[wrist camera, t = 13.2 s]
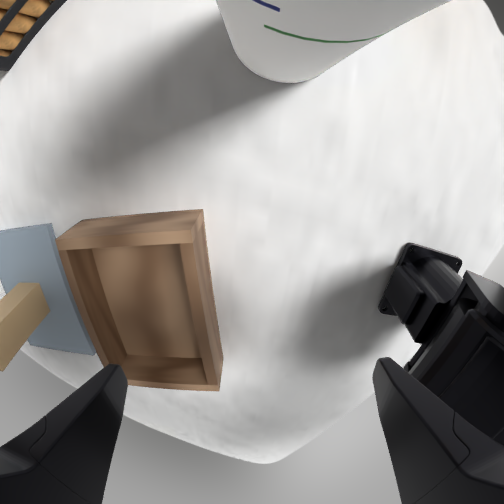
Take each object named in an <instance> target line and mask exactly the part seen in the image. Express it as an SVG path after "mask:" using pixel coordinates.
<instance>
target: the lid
mask: <svg viewBox="0 0 504 504" xmlns="http://www.w3.org/2000/svg"><path fill="white" fill-rule="evenodd" d="M0 280H1V283H2V285H3V288H4V290H5V293H6V295H5V296H4V297H3V298H2V299H1V300H0V371H4V370H5V368H6V367H7V365H8V364H9V362H10V361H11V360H12V359H13V357H14V356H15V354H16V353H17V352H18V351H19V349H20V348H21V347H22V345H23V344H24V343H25V342H26V340H27V339H28V341H29V343H30V345H33V346H38V347H44V348H49V349H55V350H61V351H67V352H74V353H81V354H88V355H95V353H96V350H95V348H94V345H93V343H92V341H91V339H90V337H89V334H88V332H87V330H86V327H85V325H84V323H83V320H82V318H81V315H80V313H79V310H78V308H77V305H76V302H75V300H74V297H73V294H72V292H71V289H70V286H69V283H68V280H67V277H66V274H65V271H64V268H63V265H62V262H61V259H60V255H59V252H58V249H57V245H56V242H55V235H54V231H53V227H52V223H49V224H42V225H35V226H28V227H21V228H14V229H7V230H1V231H0Z"/></svg>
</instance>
